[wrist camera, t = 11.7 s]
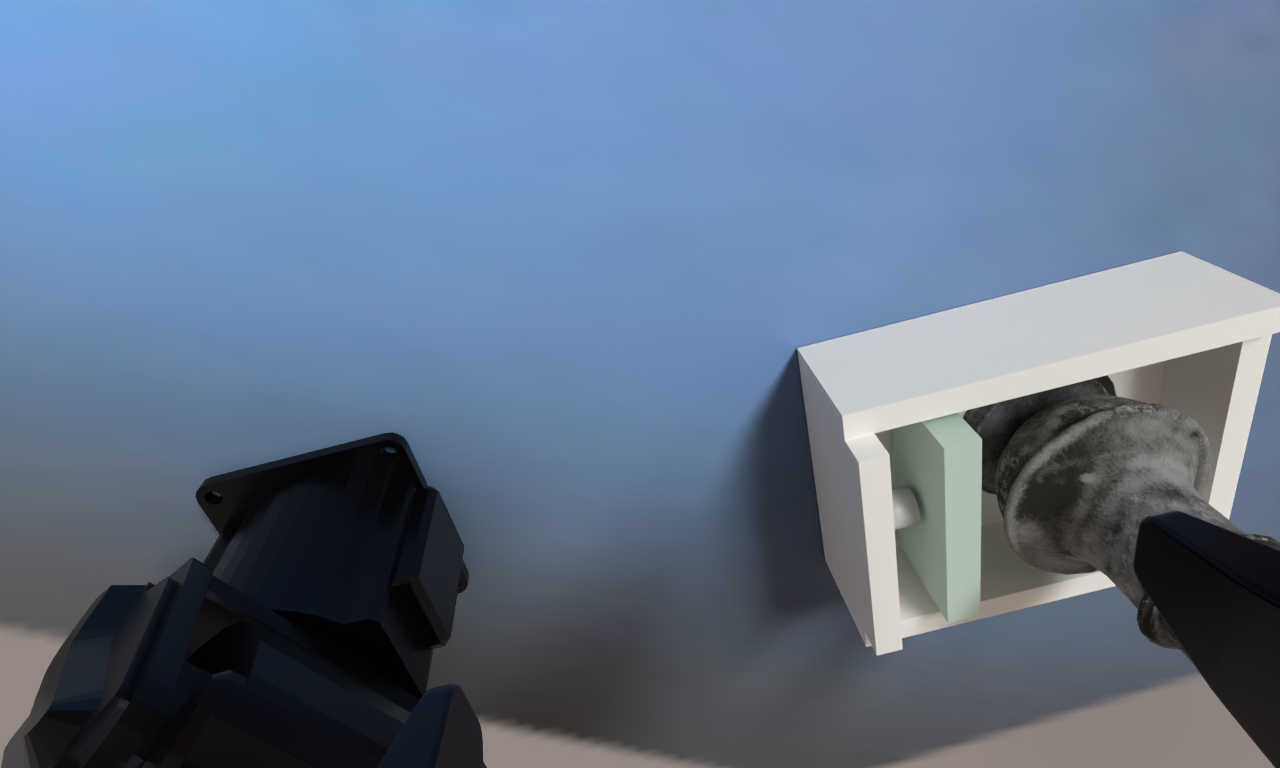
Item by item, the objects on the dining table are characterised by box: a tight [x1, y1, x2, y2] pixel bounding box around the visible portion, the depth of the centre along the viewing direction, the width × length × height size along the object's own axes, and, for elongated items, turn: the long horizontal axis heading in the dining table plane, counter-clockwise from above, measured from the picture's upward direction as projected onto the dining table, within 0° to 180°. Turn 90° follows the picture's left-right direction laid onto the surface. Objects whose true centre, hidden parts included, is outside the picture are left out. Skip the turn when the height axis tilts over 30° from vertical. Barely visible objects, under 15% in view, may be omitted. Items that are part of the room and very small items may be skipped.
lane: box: [797, 251, 1280, 655], centre depth 22 cm, size 12×9×5 cm
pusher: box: [891, 413, 982, 623], centre depth 22 cm, size 1×7×4 cm, turn 13°
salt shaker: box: [963, 375, 1280, 664], centre depth 18 cm, size 6×6×12 cm
